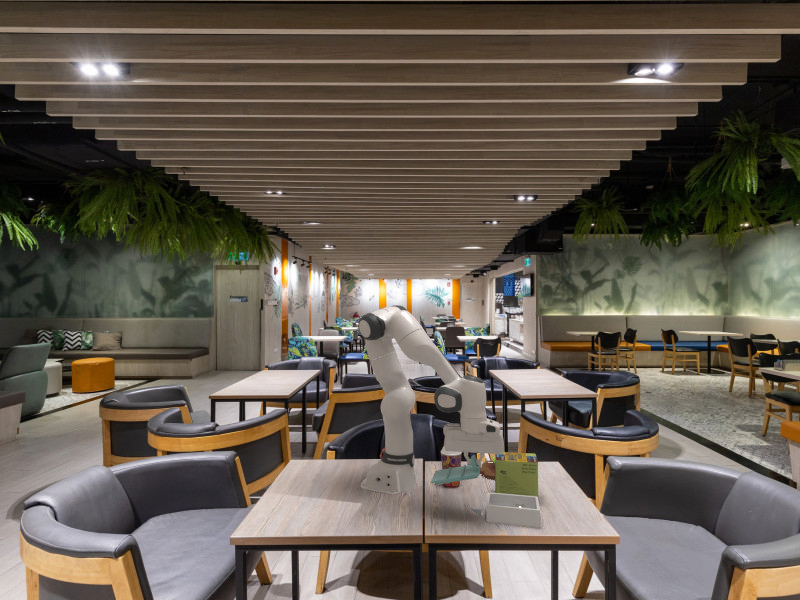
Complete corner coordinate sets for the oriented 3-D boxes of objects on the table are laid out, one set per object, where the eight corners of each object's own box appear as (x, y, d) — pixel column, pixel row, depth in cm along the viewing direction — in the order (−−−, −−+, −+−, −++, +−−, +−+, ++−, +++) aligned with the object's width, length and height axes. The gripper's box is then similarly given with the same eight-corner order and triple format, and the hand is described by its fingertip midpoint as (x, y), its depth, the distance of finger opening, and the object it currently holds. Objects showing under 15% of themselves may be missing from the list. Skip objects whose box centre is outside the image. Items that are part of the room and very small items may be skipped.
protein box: (538, 505, 165) (538, 462, 165) (495, 502, 168) (495, 459, 168) (536, 494, 175) (535, 453, 175) (495, 490, 178) (494, 451, 178)
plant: (524, 467, 205) (524, 442, 205) (528, 483, 186) (528, 456, 186) (479, 464, 209) (479, 439, 209) (478, 480, 190) (478, 453, 190)
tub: (486, 523, 151) (486, 505, 151) (487, 509, 162) (487, 492, 162) (540, 529, 147) (539, 510, 148) (537, 513, 158) (537, 496, 158)
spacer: (515, 517, 154) (515, 507, 154) (515, 513, 158) (515, 503, 158) (525, 518, 154) (525, 508, 154) (524, 514, 157) (524, 504, 157)
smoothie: (448, 491, 177) (448, 440, 178) (437, 484, 185) (436, 434, 185) (466, 487, 181) (465, 437, 181) (454, 480, 189) (453, 432, 189)
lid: (431, 486, 153) (428, 469, 154) (436, 475, 163) (432, 459, 164) (480, 478, 150) (475, 461, 150) (481, 467, 160) (477, 451, 160)
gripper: (442, 425, 155) (442, 466, 155) (503, 428, 150) (504, 470, 150) (444, 420, 161) (444, 460, 161) (503, 423, 156) (504, 463, 156)
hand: (474, 465), depth 155 cm, fingers closed on lid, 2 cm apart
